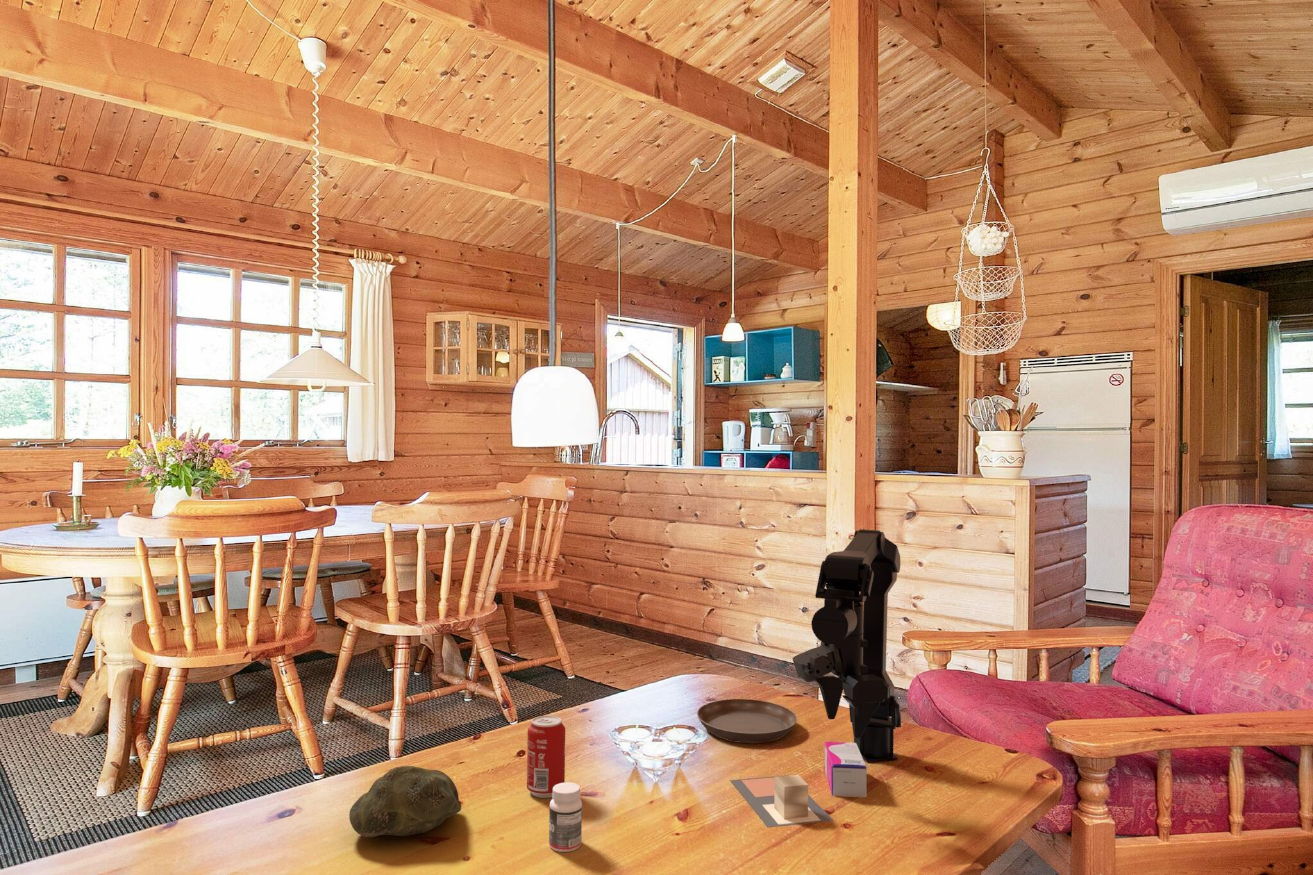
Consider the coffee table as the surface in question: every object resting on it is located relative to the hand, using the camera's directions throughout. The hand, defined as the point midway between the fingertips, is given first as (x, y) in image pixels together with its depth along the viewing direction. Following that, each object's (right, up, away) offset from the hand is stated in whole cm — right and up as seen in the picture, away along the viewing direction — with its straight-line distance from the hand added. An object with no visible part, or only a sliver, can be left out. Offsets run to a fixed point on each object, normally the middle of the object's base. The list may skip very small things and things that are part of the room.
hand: (843, 727), depth 133 cm
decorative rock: (-68, -12, -10) cm, 70 cm away
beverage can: (-49, -12, +4) cm, 51 cm away
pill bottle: (-44, -12, -14) cm, 48 cm away
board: (-11, -13, +1) cm, 16 cm away
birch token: (-9, -12, -4) cm, 16 cm away
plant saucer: (-12, -14, +36) cm, 41 cm away
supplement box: (+1, -10, +2) cm, 10 cm away
